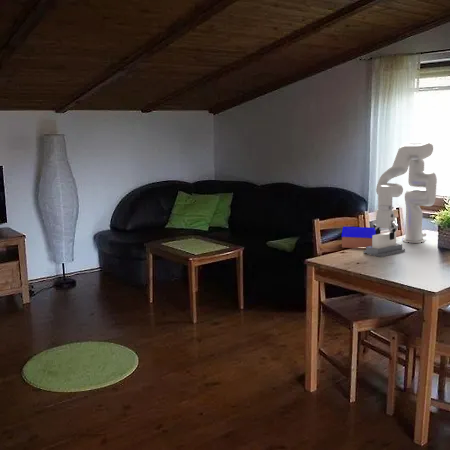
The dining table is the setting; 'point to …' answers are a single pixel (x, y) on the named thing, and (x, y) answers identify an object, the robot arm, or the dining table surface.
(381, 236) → the white block
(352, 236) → the blue shipping container
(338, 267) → the dining table surface
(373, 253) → the grey holder tray
